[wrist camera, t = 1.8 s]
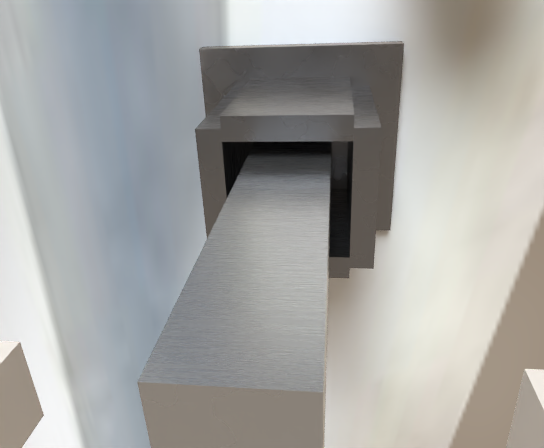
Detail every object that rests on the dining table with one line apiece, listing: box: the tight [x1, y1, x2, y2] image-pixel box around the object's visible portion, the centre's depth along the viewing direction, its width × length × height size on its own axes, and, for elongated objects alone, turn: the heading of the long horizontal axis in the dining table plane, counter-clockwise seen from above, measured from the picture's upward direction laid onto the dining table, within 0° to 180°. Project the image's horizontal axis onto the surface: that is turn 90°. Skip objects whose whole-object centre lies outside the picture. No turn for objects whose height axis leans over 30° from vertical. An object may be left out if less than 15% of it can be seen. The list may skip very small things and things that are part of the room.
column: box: [138, 141, 332, 448], centre depth 22 cm, size 4×5×23 cm
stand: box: [195, 41, 404, 278], centre depth 28 cm, size 12×12×12 cm
